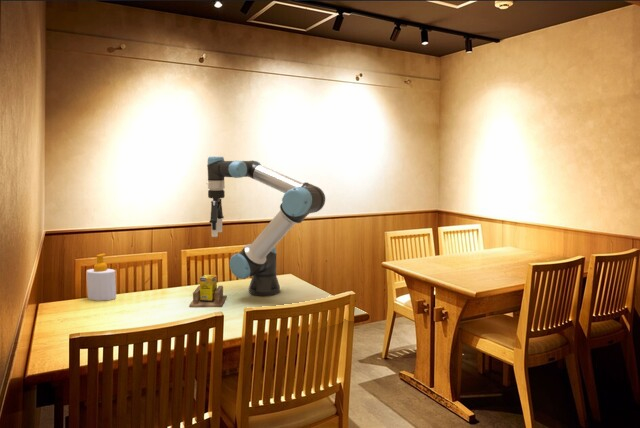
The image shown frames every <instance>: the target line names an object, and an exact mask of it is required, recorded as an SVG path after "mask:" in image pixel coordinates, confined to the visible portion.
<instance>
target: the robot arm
mask: <svg viewBox="0 0 640 428" xmlns="http://www.w3.org/2000/svg"><path fill="white" fill-rule="evenodd" d="M207 157H208V158H207V165H206V166H207V182H206V184H207V189H208V190H207V192H208V193H207V195H208V197H207V198H208V199H212V200H211V201H210V203H211V204H210V205H211V207H210V220H209V224H210V226H211V229H210V231H211V233H210V234H211V237H212V238H217V237H218V236H219V235H218V234H219V233H223V219H225V217H224V213H223V205H222V199H224V198H225V190H224V189H225V188H226V187H225V178H233V179H239V178H241V179H242V178H250V179H253V180H255V181H258V182H260V183H262V184H263V185H266V186H268V187H270V188H272V189H275V190H277V191H278V192H279V191H280V192H282V193H284V194H283V196H282V198H281V201H282V202H281V203H280V205H279V211H278V212H277V214H276V215H275V216H274V217H273V218H272V219H271V221H269V223H268V224H267V225H266V227H265V228H263V230H262V231H261V232H260V234H258V236H257V237H256V238H255V239H254V240H253V242H251V243H247V244H245V246H244V247H243V248H242V249H241V251H239V252H238V253H234V254H233V255H232V256H230V260H229V268H230V271H231V273H232V275H234V277H236V278H238V279H241V280H243V279H248V278H249V277H251V280H250V282H249V287H248V293H249V294H250V295H253V296H258V297H267V296H274V295H275V296H276V295H277V294H279V293H280V292H281V287H280V285H281V284H280V282H279V280H278V277H277V276H278V275H277V248H276V246H277V245H278V243H280V242H281V240H282V239H283V238H284V237H285V236H286V234H288V232H289V231H290V230H291V229H292V228H293V227H294V225H296V224H301V223H302V222H303V221H304V220H305V218H307V216H308V215H310V214H313V213H317V212H319V211H321V210H322V209H323V208H324V206H325V204H326V194H325V192H324V190H322V189H321V188H320V187H318V186H316V185H315V184H312V183H309V182H301V181H298V180H296V179H295V178H294V179H293V178H292V177H290V176H287V175H284V174H283V173H280V172H278V171H275V170H273V169H272V168H271V169H270V168H268V167H266V166H264V165H262V164H261V163H260V162H259V160H225V158H224V156H207Z"/></svg>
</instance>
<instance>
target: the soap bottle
mask: <svg viewBox="0 0 640 428" xmlns="http://www.w3.org/2000/svg"><path fill="white" fill-rule="evenodd" d="M105 256H106V253H100V254H96V263H95V264H94V265H93V268H90V269H87V270H86V289H87V290H86V291H87V298H88V300H90V301H97V302H98V301H99V302H105V301H112V300H114V299H115V300H116V298H117V288H116V287H117V285H116V284H117V283H116V270H115V269H112V268H108V265H107V263H106V262H104V257H105Z"/></svg>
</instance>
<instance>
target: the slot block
mask: <svg viewBox="0 0 640 428" xmlns="http://www.w3.org/2000/svg"><path fill="white" fill-rule="evenodd" d="M214 298H215V300H214V301H213V302H202V301H200V285H197V287H196V288H195V290H194V291H193V292H192V301H191V302H190V304H189V308H222V307H223V305H224V304H225V301H226V299H227V298H228V297H227V295H226V294H224V286H223V285H217V290H216V291H215V293H214Z"/></svg>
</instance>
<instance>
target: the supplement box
mask: <svg viewBox="0 0 640 428" xmlns="http://www.w3.org/2000/svg"><path fill="white" fill-rule="evenodd" d="M217 279H218V276H217V275H216V274H204V275H203V276H200V277H199V286H200V301H202V302H213V301H214V300H215V298H214V293H215V291H216V290H217V288H218V282H217V281H218V280H217Z"/></svg>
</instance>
